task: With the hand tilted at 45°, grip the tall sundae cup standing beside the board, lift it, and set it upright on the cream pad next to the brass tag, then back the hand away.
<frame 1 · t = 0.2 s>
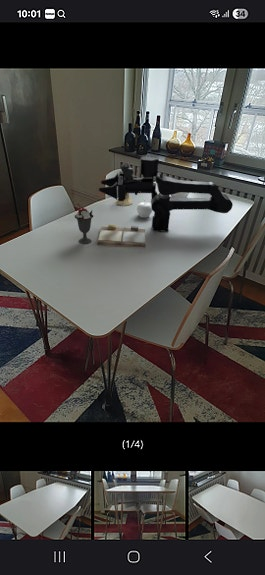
hand: (100, 185, 123), 17 cm above the table, tool horizontal, fingers open, 9 cm apart
lidded jar: (178, 198, 165), on the table
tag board: (122, 237, 124), on the table
sundae: (85, 241, 120), on the table
hand bell: (124, 203, 156), on the table
plain white apple: (144, 216, 143), on the table
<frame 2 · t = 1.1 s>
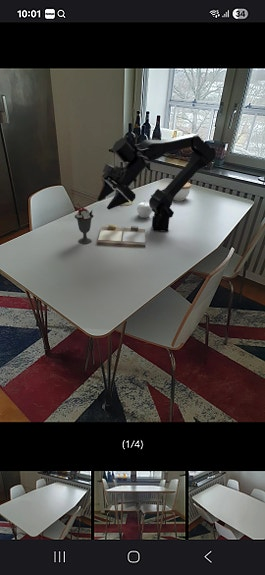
hand: (102, 204, 115), 14 cm above the table, tool tilted 45°, fingers open, 9 cm apart
nothing on the table moved.
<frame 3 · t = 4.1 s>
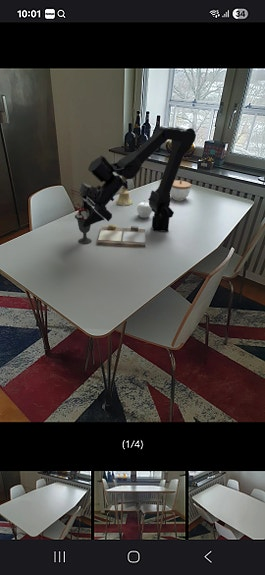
hand: (80, 223, 115), 8 cm above the table, tool tilted 45°, fingers closed on sundae, 6 cm apart
sundae: (85, 241, 120), on the table, touching gripper
everything else where it was.
when the fingers open (10 cm above the table, at t = 7.7 s): sundae drops 1 cm, resting on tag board.
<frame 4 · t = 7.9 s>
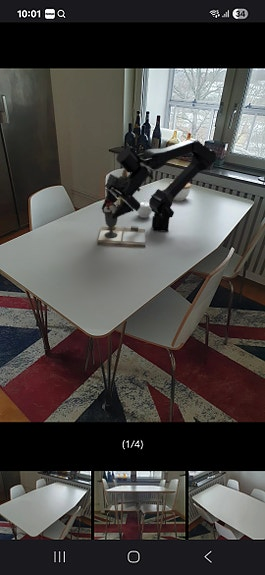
hand: (107, 213, 117), 10 cm above the table, tool tilted 45°, fingers open, 8 cm apart
sundae: (110, 235, 123), point 1 cm above the table, touching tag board
everything else where it was.
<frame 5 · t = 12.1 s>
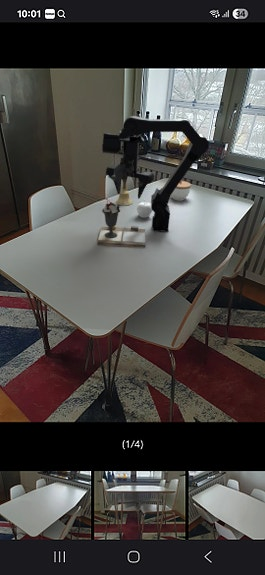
hand: (128, 196, 126), 13 cm above the table, tool pointing down, fingers open, 9 cm apart
nothing on the table moved.
at the end: sundae 0.1 cm from the target spot on the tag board, point 1.0 cm above the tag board's base; sundae tilted 0°; the gripper is holding nothing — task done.
